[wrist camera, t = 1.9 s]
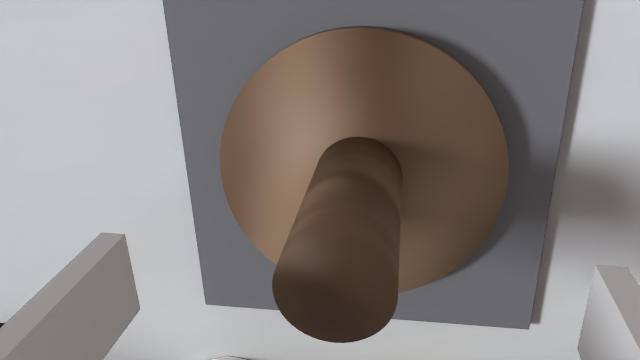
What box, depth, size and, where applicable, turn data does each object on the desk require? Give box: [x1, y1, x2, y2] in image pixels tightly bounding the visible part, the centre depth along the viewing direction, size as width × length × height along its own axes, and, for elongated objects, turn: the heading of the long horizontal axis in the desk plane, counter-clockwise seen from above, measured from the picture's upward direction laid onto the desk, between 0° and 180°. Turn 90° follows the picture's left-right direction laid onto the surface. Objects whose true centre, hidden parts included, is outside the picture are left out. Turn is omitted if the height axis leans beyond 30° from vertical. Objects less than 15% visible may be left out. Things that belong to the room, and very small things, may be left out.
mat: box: [163, 0, 584, 329], centre depth 24 cm, size 16×16×1 cm
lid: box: [220, 26, 509, 343], centre depth 19 cm, size 12×12×9 cm
